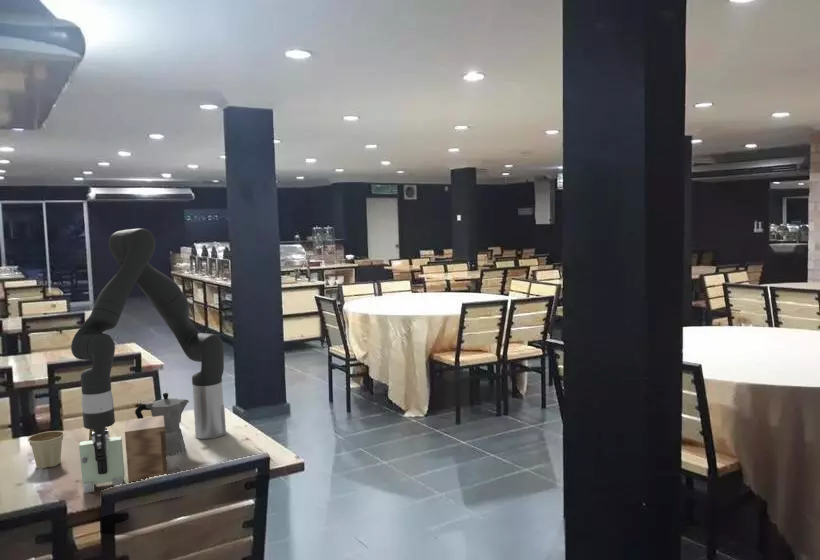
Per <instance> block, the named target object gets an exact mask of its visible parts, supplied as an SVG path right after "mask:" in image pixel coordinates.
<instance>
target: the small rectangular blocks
mask: <svg viewBox="0 0 820 560" xmlns="http://www.w3.org/2000/svg"><path fill="white" fill-rule="evenodd" d="M120 484H123V485H124V480H123V477H118V478H113V481H112V487H113V486H116V485H120ZM94 485H95V484H94V482H87V483H83V484H82V488H83V494H87V493H92V492H93V493H94V492H95V486H94Z"/></svg>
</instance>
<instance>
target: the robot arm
mask: <svg viewBox="0 0 820 560" xmlns="http://www.w3.org/2000/svg"><path fill="white" fill-rule="evenodd" d="M108 247H109V248H108V249H109V251H110V253H111V255H112V257H113V258H114V260H115V261H116V262H117V263H118V264H119V265H120V268H119V270H118V271H117V272H116V274H115V275H114V276H113V277H112V278H111V279H110V280H109V281H108V282H107V283H106V284H105V286H104V287H103V288H102V290H101V291H100V293H99V295H98V297H97V298H96V300H95V303H94V306H93V308H92V310H91V313H90V315H89V317H88V318H87V319H85V320H84V323H83V324H82V325H81V326H80V327H79V329H78V330H77V332H76V333H75V335H74V336H73V338H72V341H71V344H70V345H71V346H70V348H71V349H70V350H71V353H72V355H73V356H74V358H76V359H77V360H83V361H84V360H85V361H93V363H92V367H91V368H87V369H85V370H83V371H82V372H81V374H80V383H81V384H80V385H81V386H80V387H81V409H82V424H83V428H84V429H87V430H90V429H93V430H94V432H92V442H93V448H94V452H95V460H96V461H97V465H98V474H100V475H101V474H106V473H107V471H108V470H107V453H106V451H107V450H108V438H110V429H108V428H109V427H111V426H113V425H114V424H115V422H116V417H115V406H114V395H113V391H112V382H111V374H112V373H111V372H112V366H113V363H114V362H113V361H114V356H115V353H116V345H115V342H114V339H113V338H112V336H111V335H110V334H108V333H104V332H105V331H109V330H112V329H114V328H115V327H117V325H118V323H119V321H120V318H121V315H122V312H123V310H124V307H125V305H126V303H127V300H128V299H129V296H130V294H131V293H132V290H133V289H134V287H135V285H136V284H137V286H138V287H139V288H140V290H141V291H142V292H143V294H144V295H145V296H146V298H147V299H148V300H149V302H150V303H151V305H152V306H153V308H154V309H155V310H156V311H157V314H159V315H160V317H161V318H162V319H163V321H164V322H165V323H166V325H167V327H168V328H169V329H170V331H171V333H173V335H174V337H175V338H176V340H177V342H178V344H179V345H180V347H181V349H182V352H184V354H185V356H186V357H187V358H188V359H189V360H191V361H192V362H193V361H194V362H199V363H200V364H201V365H200V366H201V368H200V371H199V372H196V373H194V374H193V375H192V376H191V386H192V387H191V388H192V399H193V400H192V401H193V413H194V416H193V417H194V430H195V431H194V432H195V437H196V439H197V438H198V439H201V440H202V439H203V440H206V439H207V440H208V439H215V438H218V437H219V438H220V437H222V436H226V435H227V429H226V412H225V411H226V410H225V409H226V408H225V405H224V394H223V393H224V390H223V374H224V371H225V366H224V365H225V364H224V362H225V361H224V360H225V357H224V356H225V354H224V352H225V351H224V343H223V339H221V337H220V336H219V334H214V333H204V332H203V333H202V332H200V331H199V330H198V329H197V328H196V327H195V324H194V323H193V322H192V321H191V319H190V304H189V300H188V298H187V296H186V295H185V294H184V292H183V290H182V289H181V288H180V286H179V285H178V283H177V282H175V281H174V280H173V279H172V278H170V277H169V276H167V275H166V274H164V273H163V272H161V271H160V270H158V269H156V268H154V267H153V266H152V265H151V264H150V263H149V262H150V260H151V258H152V257H153V254H154V252H155V251H156V250H155V249H156V239H155V236H154V235H153V233H152V232H151V231H150V230H148V229H146V228H130V229H123V230H118V231H115V232H113V233H112V234H111V235H110V237H109V239H108ZM105 444H106V447H105ZM98 454H104V455H101V456H98Z"/></svg>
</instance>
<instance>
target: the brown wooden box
mask: <svg viewBox="0 0 820 560" xmlns="http://www.w3.org/2000/svg"><path fill="white" fill-rule="evenodd" d="M124 439H125V451H126V454H125V455H126V466H127V478H128V483H133V482H132V481H135V482H139V481H138V480H141V479H146V478H149V477H154V476H159V475H164V474H168V475H169V470H168V469H169V468H168V456H167V453H166V439H165V425H164V415H163V416H156V417H152V416H150V417H143V418H140V419H138V418H133V419H126V420H125V425H124ZM141 481H142V480H141Z"/></svg>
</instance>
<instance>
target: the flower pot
mask: <svg viewBox="0 0 820 560" xmlns="http://www.w3.org/2000/svg"><path fill="white" fill-rule="evenodd" d="M64 436H65V432H64V431H61V430H51V431H44V432H39V433H36V434H32V435H31V436H28V437H27V441H28V443H29V446H30V447H31V451H32V455H33V458H34V461H35V466H36V468H37V469H47V468H53V467H56V466H58V465H59V464H61V460H62V445H63V444H62V443H63V438H64Z"/></svg>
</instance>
